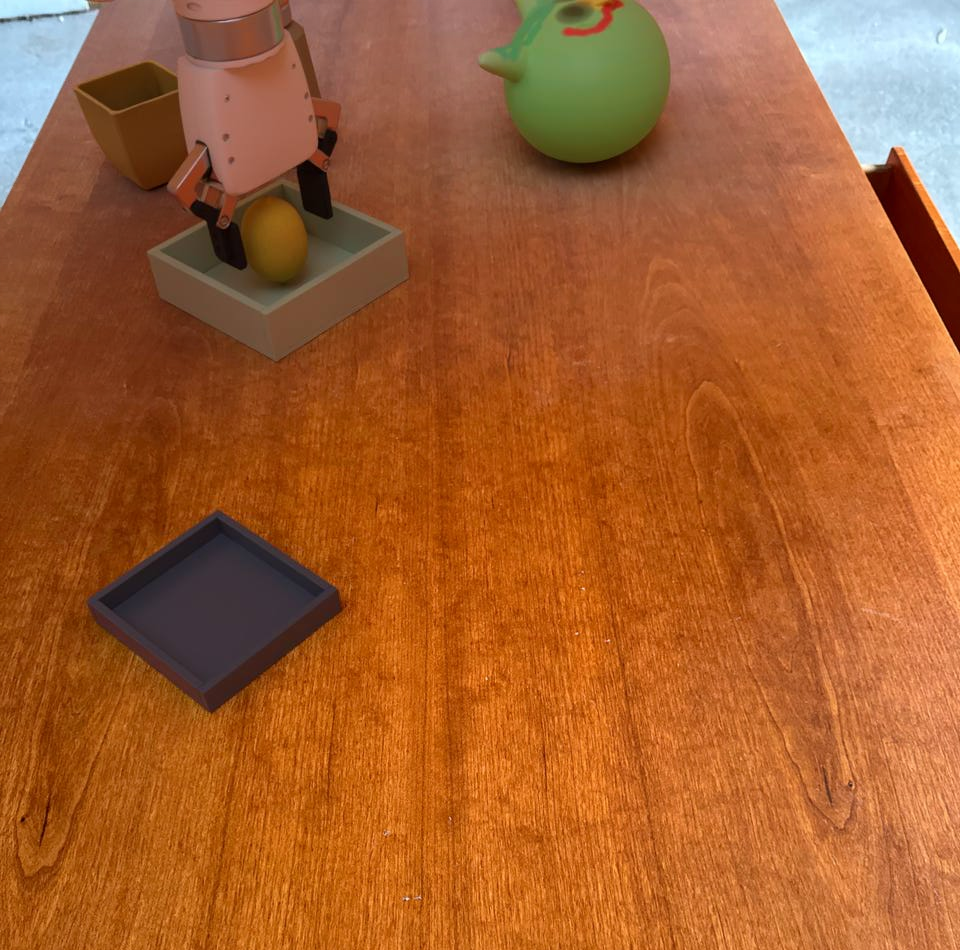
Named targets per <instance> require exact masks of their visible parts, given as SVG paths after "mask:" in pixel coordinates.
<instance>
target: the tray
mask: <svg viewBox="0 0 960 950" xmlns="http://www.w3.org/2000/svg"><path fill="white" fill-rule="evenodd" d="M85 603H86V605H87V607H88V609H89V611H90V614H91V616H92V618H93V620H94V622H95V623H97V624H98V625H99V626H100V627H102V628H103V629H104V630H105V631H107V632H108V633H109V634H110V635H112V637H114V638H116V639H117V641H119V642H120V643H122V644H123V645H124V646H125V647H127V648H128V649H129V650H130V651H132V652H133V653H134V654H135V655H136V656H138V657H139V658H141V659H142V660H143V661H144V662H145V663H147V664H148V665H149V666H150V667H151V668H153V669H154V670H155V671H157V672H158V673H159V674H161V676H162V677H164V678H165V679H167V680H168V681H169V682H170V683H171V684H173V685H174V686H175V687H177V688H178V689H179V690H181V692H183V693H184V694H186V695H187V696H188V697H189V698H191V699H192V700H193V701H195V703H197V704H198V705H200V706H201V707H202V708H203V709H204V710H206V711H207V712H208V713H210V714H212V713H214V712H215V711H217V709H219V708H220V707H221V706H223V705H224V704H225V703H227V702H228V701H229V700H230V699H232V698H233V697H234V696H235V695H237V694H238V693H239V692H241V691H242V690H243V689H244V688H245V687H246V686H248V685H249V684H251V683H252V682H253V681H254V680H256V679H257V678H258V677H260V675H262V674H263V673H264V672H266V671H267V670H269V668H271V667H272V666H273V665H275V664H276V663H277V662H278V661H280V660H281V659H282V658H283V657H285V656H286V655H287V654H288V653H290V652H292V650H294V649H295V648H296V647H297V646H298V645H300V644H301V643H302V642H304V641H305V640H306V639H307V638H309V637H310V636H311V635H312V634H314V633H315V632H316V631H317V630H319V629H320V628H322V627H323V626H324V625H325V624H326V623H328V622H329V621H330V620H332V619H333V618H334V617H335V616H336V615H338V614H339V613H340V612H342V611H343V605H342V600H341V596H340V592H339V589H338V588H337V587H336V586H335V585H332V584H331V583H330V582H328V581H327V580H325V579H323V578H322V577H321V576H320V575H318V574H317V573H315V572H313V571H312V570H311V569H309V568H308V567H306V566H305V565H303V564H301V563H299V562H298V561H297V560H295V559H294V558H292V557H290V555H288V554H287V553H285V552H283V551H282V550H280V549H278V548H277V547H276V546H274V545H273V544H271V543H270V542H268V541H267V540H265V539H264V538H262V537H261V536H259V535H258V534H256V533H254V532H253V531H252V530H250V529H248V528H247V527H246V526H245V525H242V524H241V523H239V522H238V521H236V520H235V519H234V518H232V517H231V516H229V515H227V514H226V513H225V512H223V511H222V510H220V509H219V508H217V509H216V510H215V511H213V512H211V513H210V514H209V515H207V516H206V517H205V518H203V519H201V520H200V521H199V522H197V523H195V524H194V525H193V526H192V527H189V529H187V530H185V531H184V532H183V533H181V534H180V535H178V536H177V537H175V538H174V539H173V540H171V541H170V542H168V543H167V544H165V545H164V546H162V547H161V548H159V549H158V550H157V551H155V552H154V553H152V554H151V555H150V556H148V557H146V558H145V559H144V560H142V561H140V562H139V563H138V564H136V565H135V566H134V567H132V568H130V569H129V570H127V571H126V572H125V573H123V574H122V575H120V576H118V578H116V579H115V580H113V581H112V582H110V583H109V584H108V585H106V586H105V587H103V588H102V589H100V590H99V591H97V592H95V593H94V594H92V595H91V596H90V597H88V598H87V599H86V600H85Z"/></svg>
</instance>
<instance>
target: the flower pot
mask: <svg viewBox="0 0 960 950" xmlns="http://www.w3.org/2000/svg"><path fill="white" fill-rule="evenodd" d="M71 87H72V90H73V93H74V94H75V97H76V99H77V102H78V105H79V107H80V109H81V111H82V113H83V116H84V118H85V121H86V123H87V125H88V128H89V130H90V132H91V134H92V136H93V138H94V140H95V142H96V144H97V146H99V148H100V150H101V151H102V153H103V154H104V155H105V156H106V158H107V159H108V160H109V161H110V162H111V164H112V165H113V166H114V167H115V168H116V169H117V170H118V171H119V172H120V173H121V174H122V176H124V177H126V178H127V179H129V180H131V181H132V182H133V183H134V184H136V185H137V186H138V187H140V188H141V189H142V190H147V191H148V190H151V189H155V188H156V187H159V186H162V185H164V184H166V183H169V182H170V180H171V179H172V177H173V176H174V175H175V173H176V172H177V170H178V169H179V168H180V166H181V165H182V164H183V162H184V161H185V159H186V158H187V157H188V150H187V145H186V140H185V135H184V129H183V123H182V117H181V110H180V103H179V93H178V77H177V72H175V71H173V70H171V69H169V68H168V67H167V66H165V65H163V64H161V63H160V62H158V61H156V60H155V59H152V58H149V59H145V60H141V61H139V62H135V63H131V64H129V65H127V66H123V67H120V68H117V69H115V70H112V71H109V72H106V73H103V74H101V75H98V76H95V77H93V78H89V79H85V80H84V81H80V82H79V83H76V84H73V85H71Z"/></svg>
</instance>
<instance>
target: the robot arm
mask: <svg viewBox="0 0 960 950" xmlns="http://www.w3.org/2000/svg"><path fill="white" fill-rule="evenodd" d="M85 1H86V2H93V3H109V2H110V3H112V2H113V1H115V0H85ZM172 4H173V8H174V12H175V16H176V21H177V23H178V24H177V25H178V28H179V32H180V37H181V41H182V45H183V48H184V53H183V54H182V55H180V56H179V57H178V58H177V61H176V64H177V65H176V66H177V67H176V74H177V77H178V93H179V103H180V110H181V117H182V123H183V129H184V135H185V140H186V145H187V150H188V157H187V158H186V159H185V161H184V162H183V164H182V165H181V166H180V168H179V169H178V170H177V172H176V173H175V175H174V176H173V177H172V179H171V180H170V181H169V182H167V185H166V190H167V192H168V194H169V195H170V196H171V197H172V198H173V199H174V200H175V201H176V202H177V204H179V206H181V208H182V209H183V211H185V212H187V213H189V214H191V215H193V216H195V217H197V218H199V219H201V220H202V221H204V220H205V221H206V222H207V226H208V230H209V234H210V237H211V241H212V245H213V249H214V252H215V255H216V256H217V258H218V259H220V260H221V261H222V262H224V263H226V264H228V265H230V266H232V267H234V268H236V269H238V270H240V271H241V270H243V269H245V268H246V267H247V265H248V263H247V259H246V255H245V250H244V246H243V242H242V238H241V234H240V230H239V226H238V225H237V224H236V223H234V222H232V221H231V219H232V216H233V213H234V210H235V207H236V204H237V202H239V198H240V196H243V195H245V194H247V193H250V192H252V191H254V190H256V189H257V188H259V187H262V186H263V185H265V184H266V183H268V182H270V181H272V180H274V179H276V178H277V177H279V176H282V174H283V175H284V174H285V173H286V172H289V171H290V170H292V169H293V168H296V170H295V171H296V178H297V182H298V183H297V184H298V185H299V188H300V193H301V198H302V203H303V208H304V210H305V211H307V212H309V213H312V214H314V215H316V216H318V217H321V218H323V219H326V220H329V219H330V218H332V217H333V210H332V205H331V199H332V195H331V190H330V184H329V177H328V172H329V171H330V170H331V169H332V167H333V166H332V165H333V160H332V158H331V156H332V153H333V151H334V149H335V147H336V144H337V142H338V136H339V135H338V133H337V130H338V128H339V122H340V117H341V111H342V107H341V105H340V103H338V102H335V101H333V100H330V99H328V98H327V99H326V98H322V97H321V98H322V99H321V98H315V97H311V96H310V92H309V88H308V84H307V81H306V77H305V73H304V70H303V67H302V64H301V61H300V58H299V55H298V52H297V50H296V47H295V45H294V42H293V40H292V38H291V35H290V33H289V32H288V31H287V30H286V29H284V27H283V22H282V16H281V11H280V10H281V9H282V7H284V6H286V5H288V0H172ZM315 116H318V123H317V124H318V126H317V125H316V119H315ZM301 163H302V164H301ZM198 184H204V187H203V191H202V194H201V196H200V198H199V196H198V194H197V193H196V187H197V185H198ZM220 193H222V195H221V198H220V201H219V203H218V200H219V196H220ZM217 203H218V207H217V208H216V206H217Z"/></svg>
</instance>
